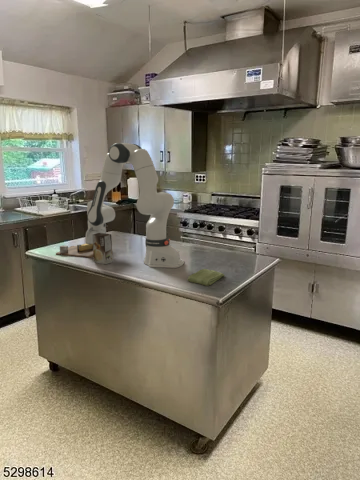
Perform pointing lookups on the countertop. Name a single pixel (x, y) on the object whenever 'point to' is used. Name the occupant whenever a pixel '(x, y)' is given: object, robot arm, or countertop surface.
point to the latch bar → (84, 247)
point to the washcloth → (205, 277)
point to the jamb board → (75, 252)
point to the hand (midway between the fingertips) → (96, 247)
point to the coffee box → (102, 248)
